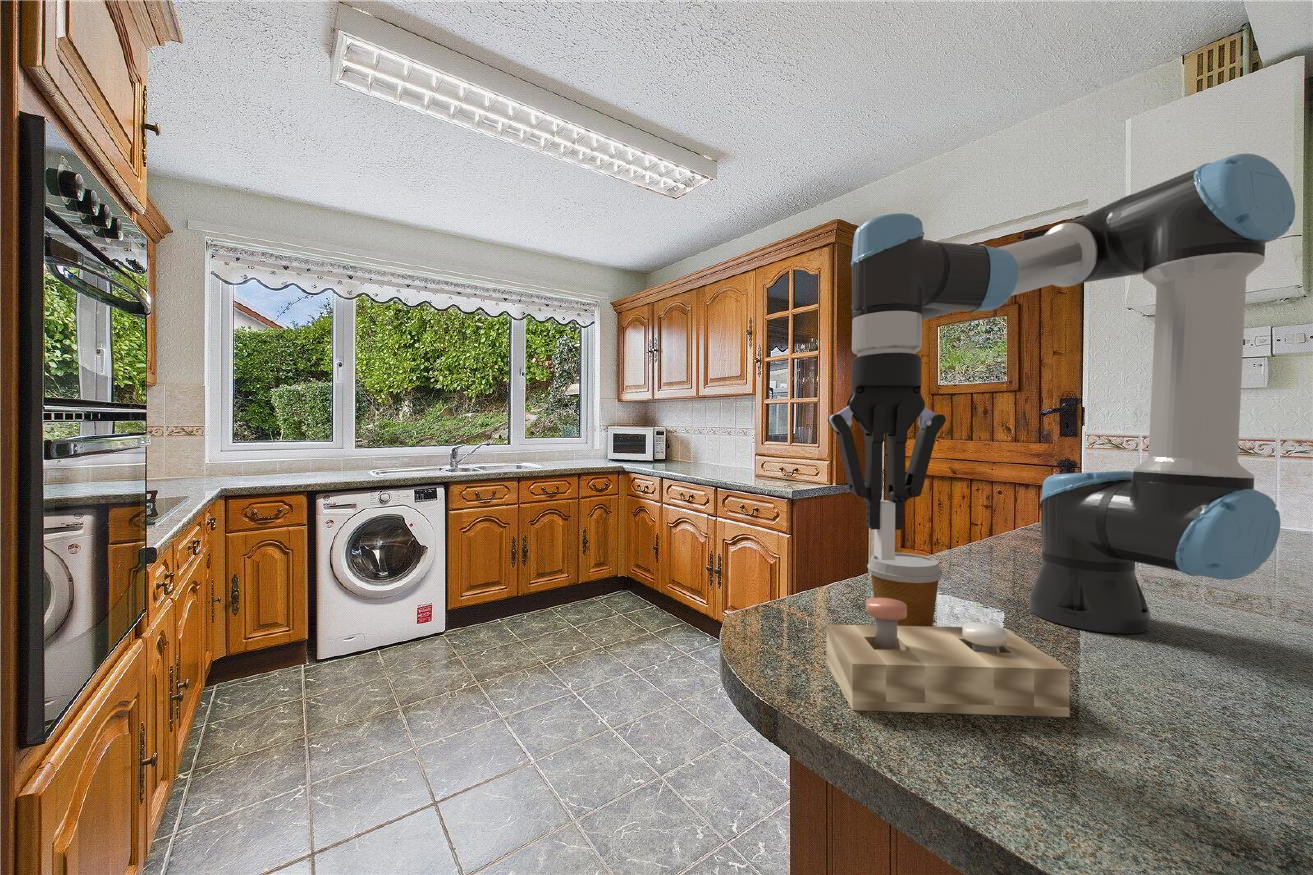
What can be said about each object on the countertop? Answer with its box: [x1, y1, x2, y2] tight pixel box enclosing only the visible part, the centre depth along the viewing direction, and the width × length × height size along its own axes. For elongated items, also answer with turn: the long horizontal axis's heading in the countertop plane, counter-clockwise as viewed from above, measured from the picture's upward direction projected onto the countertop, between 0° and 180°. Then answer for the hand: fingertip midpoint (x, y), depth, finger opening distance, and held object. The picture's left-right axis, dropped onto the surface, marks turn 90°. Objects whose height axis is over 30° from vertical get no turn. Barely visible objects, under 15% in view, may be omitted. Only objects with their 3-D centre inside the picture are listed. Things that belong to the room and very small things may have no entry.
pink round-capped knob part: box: [865, 597, 907, 649], centre depth 64 cm, size 4×4×5 cm
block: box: [825, 623, 1070, 718], centre depth 64 cm, size 22×12×5 cm, turn 86°
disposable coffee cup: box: [866, 552, 943, 627], centre depth 76 cm, size 10×10×12 cm
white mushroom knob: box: [961, 621, 1007, 653], centre depth 63 cm, size 4×4×5 cm
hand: (884, 557), depth 64 cm, fingers closed
